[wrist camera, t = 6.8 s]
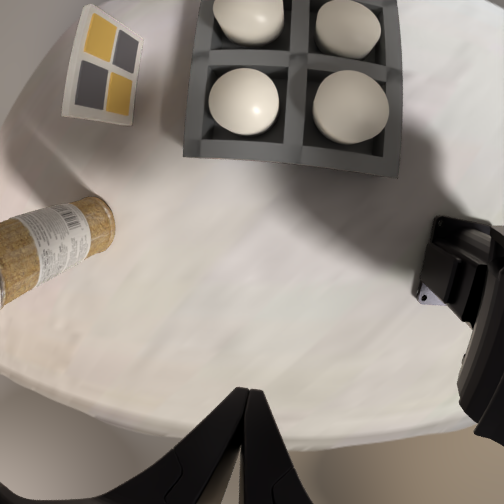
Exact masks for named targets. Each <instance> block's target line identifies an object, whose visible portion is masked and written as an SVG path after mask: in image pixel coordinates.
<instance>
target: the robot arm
mask: <svg viewBox="0 0 504 504" xmlns="http://www.w3.org/2000/svg"><path fill="white" fill-rule="evenodd" d="M440 220H442V224H441V225H440V226H439V221H440ZM420 279H421V281H420V285H419V289H418V293H417V300H418V301H419V303H420V304H427V305H445V306H448V307H449V308H450V309H451V310H452V311H453V312H454V313H455V314H456V315H457V316H458V318H459V319H460V320H461V321H463V322H466V323H467V325H468V326H469V327H470V328H471V329H472V330H473V332H472V335H471V338H470V342H469V345H468V348H467V351H466V354H464V356H463V359H462V367H461V369H460V372H459V376H458V381H457V386H458V391H459V396H460V400H459V404H460V406H461V407H462V409H463V410H464V412H465V413H466V414H467V415H468V416H469V417H470V418H471V419H472V420H473V421H475V422H476V423H478V425H477V426H476V428H475V430H474V434H475V435H477V436H481V437H485V438H489V439H491V440H493V441H495V442H497V443H499V444H501V445H502V446H504V226H489V225H484V224H480V223H475V222H471V221H466V220H461V219H456V218H451V217H446V216H441V215H438V216H436V217H435V218H434V221H433V226H432V231H431V237H430V242H429V244H428V245H427V248H426V253H425V258H424V262H423V266H422V271H421V275H420ZM423 295H425V297H424V298H423V299H421V298H422V296H423ZM240 448H241V452H240V476H239V477H240V479H239V504H313V502H312V501H311V499H310V498H309V496H308V494H307V492H306V491H305V489H304V487H303V485H302V483H301V481H300V479H299V476H298V474H297V472H296V469H295V468H294V465H293V463H292V461H291V458H290V456H289V453H288V451H287V449H286V446H285V444H284V441H283V439H282V436H281V434H280V432H279V429H278V427H277V424H276V422H275V419H274V417H273V414H272V412H271V409H270V407H269V404H268V402H267V399H266V397H265V394H264V392H263V391H262V390H258V389H250V391H249V389H248V388H243V387H236V388H235V389H234V390H233V391H232V392H231V393H230V394H229V395H228V396H227V397H226V398H225V399H224V400H223V401H222V402H221V403H220V404H219V405H218V406H217V407H216V408H215V409H214V410H213V411H212V412H211V413H210V414H209V415H208V416H207V417H206V418H204V419H203V420H202V421H201V422H200V423H199V424H198V425H197V426H196V427H195V428H194V429H193V430H192V431H191V432H190V433H189V434H188V435H186V436H185V437H184V438H183V439H182V440H181V441H180V442H179V443H178V444H177V445H175V446H174V449H171V450H170V451H169V452H167V453H166V454H165V455H164V456H163V457H162V458H160V459H159V460H158V461H157V462H155V463H154V464H153V465H151V466H150V467H148V468H147V469H145V470H144V471H143V472H141V473H139V474H138V475H137V476H135V477H133V478H131V479H130V480H128V481H126V482H124V483H123V484H121V485H119V486H118V487H116V488H114V489H112V490H110V491H109V492H107V493H105V494H102V495H99V496H96V497H92V498H85V499H70V500H31V499H26V498H23V497H20V496H18V495H16V494H14V493H13V492H12V491H10V490H9V489H8V488H7V487H6V486H4V485H3V484H2V483H1V482H0V504H221V502H222V499H223V497H224V494H225V491H226V488H227V486H228V483H229V480H230V478H231V475H232V472H233V469H234V466H235V463H236V460H237V458H238V455H239V451H240Z"/></svg>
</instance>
